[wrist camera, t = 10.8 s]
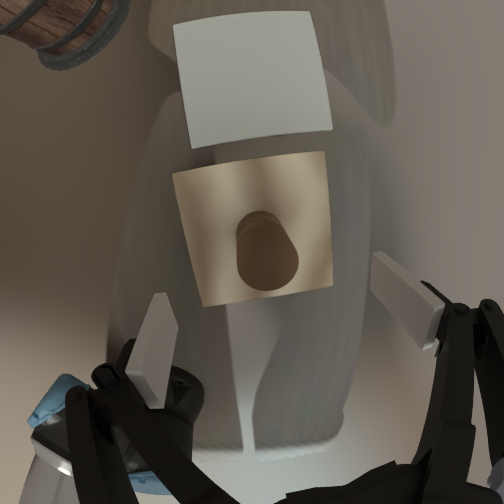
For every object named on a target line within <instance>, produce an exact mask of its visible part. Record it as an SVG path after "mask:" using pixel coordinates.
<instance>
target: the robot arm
mask: <svg viewBox="0 0 504 504" xmlns="http://www.w3.org/2000/svg"><path fill="white" fill-rule="evenodd" d="M371 272H372V273H371V289H370V290H371V291H372V292H373V293H374V295H375V296H376V297H377V298H378V299H379V300H380V301H381V302H382V304H383V305H384V306H385V307H386V308H387V309H388V310H389V312H390V313H392V315H393V316H394V317H395V318H396V320H397V321H398V322H399V323H400V324H401V325H402V327H403V328H404V329H405V330H406V331H407V333H408V334H409V335H410V336H411V337H412V339H413V340H414V341H415V342H416V343H417V345H418V346H419V347H420V348H421V350H422V351H423V350H425V349H428V348H430V347H432V346H433V345H434V341H435V339H436V338H437V339H438V340H439V341H440V342H439V345H438V348H437V351H436V354H435V357H436V356H437V360H436V368H435V375H434V381H433V388H432V393H431V398H430V403H429V408H428V412H427V416H426V421H425V425H424V428H423V432H422V436H421V439H420V443H419V447H418V449H417V452H416V454H415V456H414V458H413V460H412V462H411V464H399V465H397V464H396V462H395V460H394V461H392V462H389V463H387V464H384V465H382V466H379V467H377V468H375V469H372V470H370V471H368V472H367V473H365V474H363V475H362V476H360V477H359V478H357V479H355V480H354V481H352V482H350V483H348V484H346V485H343V486H333V487H314V488H310V489H305V490H301V491H296V492H291V493H286V498H285V499H283V500H280V501H278V502H276V503H274V504H504V314H503V312H502V310H501V309H500V307H499V305H498V304H497V303H496V302H495V301H493V300H491V299H483V300H482V301H481V302H480V305H479V308H474V309H470V308H469V307H468V306H467V305H465V304H462V303H454V304H453V303H452V302H451V301H450V300H448V299H447V298H446V297H445V296H444V295H443V294H441V293H439V291H438V290H437V289H435V288H434V287H433V286H432V285H431V284H429V283H427V282H425V281H419V280H417V279H416V278H415V277H414V276H412V275H411V274H410V273H409V272H408V271H406V270H405V269H404V268H403V267H401V266H400V265H399V264H398V263H396V262H395V261H394V260H393V259H391V258H390V257H389V256H387V255H386V254H385V253H383V252H376V253H372V271H371ZM178 328H179V327H178V325H177V322H176V319H175V317H174V314H173V311H172V308H171V306H170V303H169V300H168V297H167V294H166V292H163V293H156V294H154V296H153V298H152V301H151V303H150V306H149V308H148V311H147V313H146V316H145V318H144V321H143V323H142V326H141V329H140V331H139V334H138V336H137V339H129V340H128V342H127V343H126V344H125V345H124V347H123V349H122V352H121V354H120V357H119V359H118V362H117V364H116V367H115V366H114V365H113V364H111V363H104V364H101V365H99V366H98V367H97V368H95V369H94V371H93V372H92V375H91V378H92V381H93V382H94V383H95V385H96V386H97V388H98V389H95V390H94V389H92V388H91V386H90V385H87V384H85V383H83V382H82V381H80V380H79V379H77V378H76V377H74V376H72V375H70V374H62V375H61V376H59V377H58V378H57V380H56V381H55V382H54V384H53V385H52V386H51V388H50V389H49V390H48V392H47V393H46V394H45V396H44V397H43V398H42V400H41V401H40V403H39V404H38V406H37V407H36V408H35V410H34V411H33V413H32V414H31V416H30V417H29V419H28V424H29V425H30V427H31V428H34V431H33V433H32V436H31V441H32V444H33V446H34V449H35V452H36V453H35V456H34V458H33V461H32V464H31V467H30V470H29V472H28V475H27V478H26V481H25V484H24V487H23V490H22V494H21V497H20V501H19V504H139V502H138V500H137V497H136V495H135V492H134V491H136V492H140V493H146V494H153V495H173V496H174V497H175V498H176V499H177V501H178V502H179V503H180V504H240V503H239V502H237V501H236V500H235V499H234V498H232V497H231V496H230V495H229V494H228V493H226V492H225V491H224V490H223V489H221V488H220V487H219V486H218V485H216V484H215V483H214V482H213V481H212V480H211V479H210V478H208V477H207V476H206V475H205V474H204V473H203V472H202V471H201V470H200V469H199V468H198V467H197V466H196V465H195V464H194V463H193V462H192V443H193V425H194V423H195V421H196V419H197V417H198V415H199V413H200V411H201V409H202V407H203V404H204V388H203V386H202V384H201V383H200V382H199V381H198V380H197V379H196V378H195V377H194V376H192V375H191V374H189V373H188V372H186V371H184V370H181V369H179V368H176V367H172V366H171V363H172V358H173V353H174V348H175V342H176V337H177V333H178ZM474 368H475V372H476V375H477V380H478V384H479V388H480V393H481V398H482V403H483V408H484V414H485V421H486V427H487V435H488V445H489V453H490V460H491V464H492V470H491V474H490V476H489V477H488V479H487V484H488V486H490V488H487V487H482V486H479V485H475V484H472V483H468V482H466V480H467V476H468V472H469V467H470V462H471V458H472V452H473V447H474V440H475V433H476V427H475V425H472V424H471V418H472V408H473V394H474Z"/></svg>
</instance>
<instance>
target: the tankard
mask: <svg viewBox="0 0 504 504" xmlns="http://www.w3.org/2000/svg"><path fill="white" fill-rule="evenodd" d="M129 6H130V0H0V35H2V34H4V35H6V36H9V37H11V38H14V39H16V40H19V41H21V42H24V43H26V44H27V45H28V46H29V47H30V48H32V49H34V50H37V51H38V57H39V59H40V61H41V63H42V64H43V65H44V66H45V67H46V68H49V69H51V70H58V71H61V70H68V69H70V68H74V67H77V66H78V65H80V64H82V63H84V62H86V61H87V60H89V59H90V58H92V57H93V56H95V55H96V54H97V53H99V52H100V51H101V50H102V49H103V48H104V47H105V46H106V45H107V44H108V43H109V42H110V41H111V40H112V39H113V38H114V36H115V35H116V34H117V32H118V31H119V30H120V28H121V27H122V25H123V23H124V21H125V19H126V17H127V14H128V12H129Z"/></svg>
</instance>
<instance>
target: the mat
mask: <svg viewBox="0 0 504 504" xmlns="http://www.w3.org/2000/svg"><path fill="white" fill-rule="evenodd" d="M173 30H174V38H175V46H176V53H177V61H178V68H179V75H180V81H181V88H182V94H183V101H184V107H185V113H186V119H187V125H188V130H189V136H190V142H191V147H192V149H195V148H199V147H204V146H209V145H215V144H220V143H225V142H231V141H237V140H243V139H250V138H257V137H264V136H272V135H280V134H289V133H299V132H310V131H324V130H333V127H332V120H331V114H330V106H329V100H328V94H327V89H326V83H325V77H324V72H323V67H322V62H321V57H320V53H319V48H318V44H317V39H316V35H315V31H314V27H313V23H312V19H311V16H310V12H308V11H269V12H252V13H241V14H232V15H224V16H217V17H211V18H205V19H199V20H194V21H189V22H185V23H180V24H176V25H173Z"/></svg>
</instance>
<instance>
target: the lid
mask: <svg viewBox="0 0 504 504" xmlns="http://www.w3.org/2000/svg"><path fill="white" fill-rule="evenodd" d="M172 178H173V183H174V188H175V193H176V197H177V202H178V207H179V212H180V216H181V221H182V225H183V230H184V234H185V238H186V243H187V247H188V251H189V255H190V259H191V263H192V267H193V271H194V275H195V279H196V282H197V286H198V290H199V294H200V297H201V301H202V305H203V307H208V306H216V305H223V304H230V303H236V302H243V301H250V300H255V299H262V298H268V297H274V296H280V295H286V294H291V293H298V292H303V291H309V290H314V289H319V288H324V287H330V286H333V263H332V237H331V219H330V205H329V192H328V181H327V171H326V162H325V153H324V151H313V152H303V153H293V154H284V155H275V156H268V157H260V158H253V159H246V160H240V161H234V162H228V163H222V164H216V165H211V166H205V167H200V168H195V169H190V170H185V171H181V172H176V173H173V174H172Z"/></svg>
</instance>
